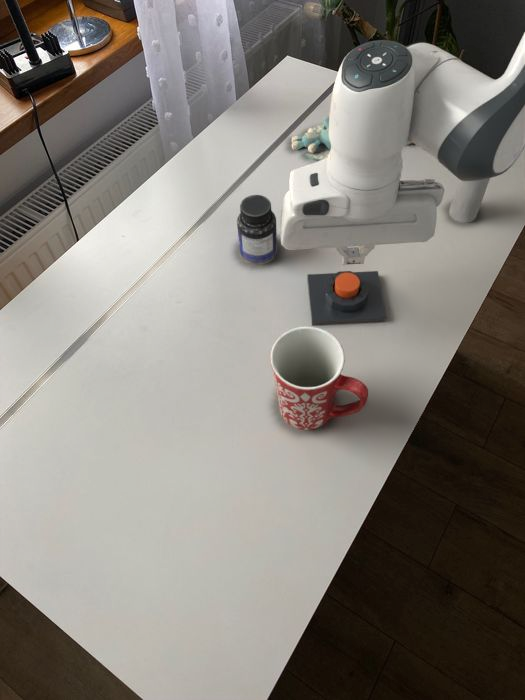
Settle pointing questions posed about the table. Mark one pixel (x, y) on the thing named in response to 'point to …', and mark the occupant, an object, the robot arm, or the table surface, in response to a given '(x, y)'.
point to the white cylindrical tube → (467, 200)
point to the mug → (312, 378)
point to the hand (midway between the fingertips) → (352, 260)
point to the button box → (345, 300)
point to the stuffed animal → (314, 140)
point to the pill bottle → (257, 230)
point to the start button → (347, 285)
